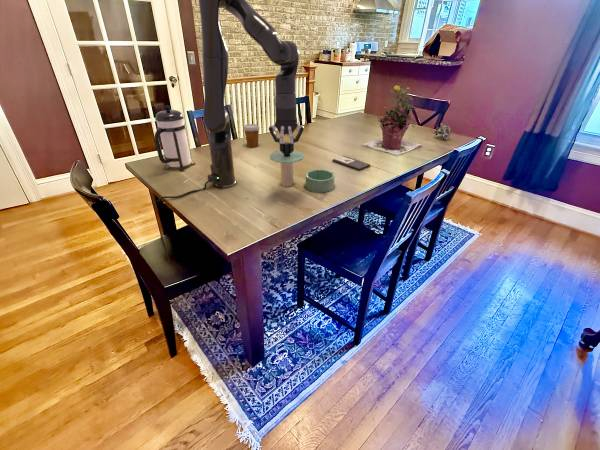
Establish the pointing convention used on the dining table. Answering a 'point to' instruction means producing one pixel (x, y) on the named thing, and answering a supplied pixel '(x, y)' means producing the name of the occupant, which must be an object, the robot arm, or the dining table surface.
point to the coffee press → (172, 139)
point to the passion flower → (443, 131)
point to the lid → (286, 155)
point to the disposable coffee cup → (251, 134)
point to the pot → (319, 180)
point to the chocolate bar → (351, 163)
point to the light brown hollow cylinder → (287, 174)
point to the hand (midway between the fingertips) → (286, 152)
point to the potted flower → (395, 126)
